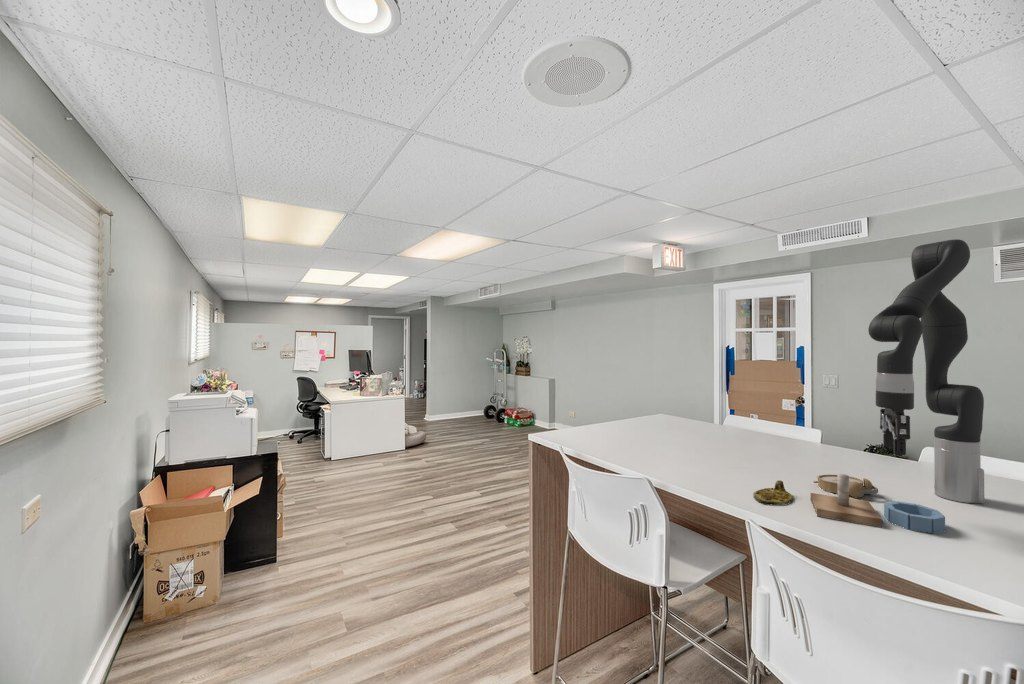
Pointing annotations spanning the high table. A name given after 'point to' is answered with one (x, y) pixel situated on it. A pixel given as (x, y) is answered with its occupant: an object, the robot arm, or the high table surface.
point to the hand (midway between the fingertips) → (894, 450)
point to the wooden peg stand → (845, 506)
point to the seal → (773, 495)
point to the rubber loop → (914, 517)
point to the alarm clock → (855, 485)
